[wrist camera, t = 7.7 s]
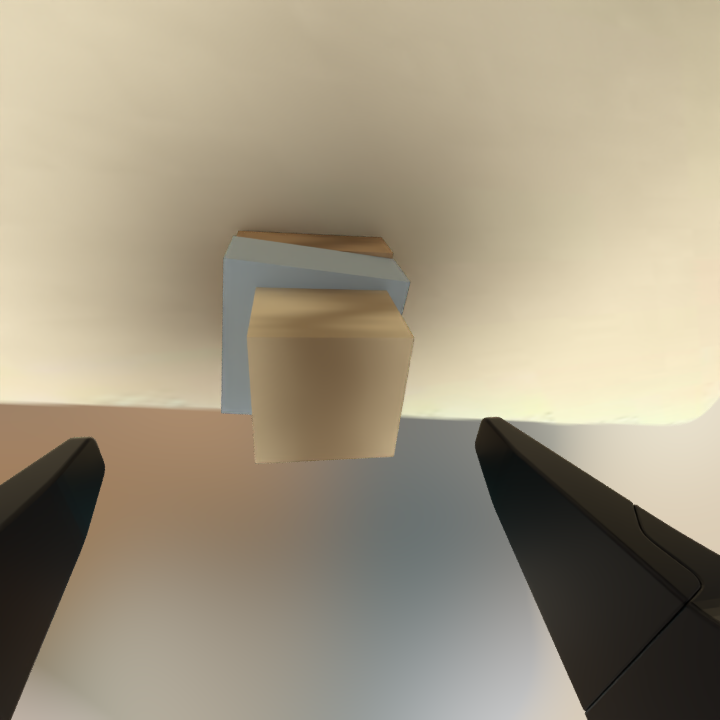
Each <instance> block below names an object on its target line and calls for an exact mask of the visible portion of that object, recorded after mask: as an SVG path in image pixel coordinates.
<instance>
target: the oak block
mask: <svg viewBox="0 0 720 720" xmlns="http://www.w3.org/2000/svg"><path fill="white" fill-rule="evenodd" d="M413 342H414V336H413V335H412V333H411V331H410V330H409V328H408V326H407V324H406V323H405V321H404V319H403V317H402V316H401V314H400V312H399V311H398V309H397V307H396V305H395V304H394V302H393V300H392V299H391V297H390V295H389V293H388V292H387V290H348V289H307V288H266V287H256V289H255V295H254V300H253V306H252V311H251V317H250V322H249V328H248V333H247V349H248V363H249V378H250V393H251V407H252V422H253V436H254V451H255V464H261V463H280V462H300V461H316V460H317V461H319V460H338V459H356V458H375V457H376V458H377V457H393V456H394V452H395V446H396V440H397V434H398V429H399V423H400V417H401V411H402V405H403V400H404V394H405V388H406V382H407V377H408V371H409V365H410V359H411V353H412V348H413Z"/></svg>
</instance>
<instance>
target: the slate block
mask: <svg viewBox="0 0 720 720" xmlns="http://www.w3.org/2000/svg"><path fill="white" fill-rule="evenodd" d="M409 286H410V281H409V280H408V278H407V277H406V275H405V274H404V273H403V271H402V270H401V269H400V267H399V266H398V264H397V263H396V262H395V260H394V259H391V258H384V257H377V256H370V255H363V254H356V253H349V252H342V251H336V250H329V249H322V248H315V247H308V246H301V245H294V244H287V243H280V242H273V241H266V240H259V239H252V238H245V237H238V236H233V238H232V240H231V242H230V244H229V247H228V249H227V251H226V253H225V256H224V258H223V327H222V397H221V413H228V414H249V415H252V407H251V393H250V378H249V363H248V349H247V333H248V328H249V322H250V317H251V311H252V306H253V300H254V295H255V289H256V287H266V288H307V289H348V290H387V292H388V293H389V295H390V297H391V299H392V300H393V302H394V304H395V305H396V307H397V309H398V311H399V312H400V314H401V316H402V313H403V309H404V305H405V301H406V297H407V293H408V290H409Z"/></svg>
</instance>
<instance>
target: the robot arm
mask: <svg viewBox="0 0 720 720" xmlns="http://www.w3.org/2000/svg"><path fill="white" fill-rule="evenodd" d="M475 449H476V453H477V456H478V459H479V463H480V466H481V469H482V472H483V475H484V478H485V481H486V485H487V488H488V491H489V494H490V497H491V500H492V503H493V505H494V508H495V510H496V513H497V515H498V517H499V520H500V522H501V524H502V526H503V529H504V531H505V533H506V535H507V538H508V540H509V542H510V545H511V547H512V549H513V551H514V554H515V556H516V558H517V560H518V562H519V565H520V567H521V569H522V572H523V574H524V576H525V579H526V581H527V583H528V585H529V587H530V590H531V592H532V594H533V597H534V599H535V601H536V603H537V606H538V608H539V610H540V612H541V615H542V617H543V619H544V621H545V624H546V625H547V628H548V631H549V633H550V635H551V637H552V640H553V642H554V644H555V646H556V649H557V651H558V653H559V656H560V658H561V660H562V662H563V665H564V667H565V669H566V671H567V673H568V676H569V678H570V680H571V683H572V685H573V687H574V689H575V692H576V694H577V696H578V698H579V701H580V703H581V705H582V707H583V709H584V710H585V711H586V712H585V715H586V717H587V720H720V555H718V554H717V553H715V552H713V551H711V550H709V549H708V548H706V547H705V546H703V545H701V544H699V543H697V542H696V541H694V540H693V539H691V538H689V537H687V536H686V535H684V534H682V533H680V532H679V531H677V530H675V529H674V528H672V527H670V526H669V525H667V524H666V523H664V522H663V521H661V520H659V519H658V518H656V517H655V516H653V515H651V514H650V513H648V512H647V511H645V510H644V509H642V508H640V507H639V506H638V505H633V503H632V502H631V501H630V500H628V499H626V498H625V497H623V496H622V495H620V494H618V493H617V492H615V491H614V490H612V489H611V488H609V487H608V486H606V485H605V484H603V483H601V482H600V481H598V480H597V479H595V478H593V477H592V476H591V475H589V474H587V473H586V472H584V471H582V470H581V469H580V468H578V467H577V466H575V465H573V464H572V463H570V462H569V461H567V460H565V459H564V458H563V457H561V456H559V455H558V454H556V453H555V452H553V451H552V450H550V449H549V448H547V447H545V446H544V445H542V444H541V443H539V442H538V441H536V440H534V439H533V438H531V437H530V436H528V435H527V434H525V433H523V432H522V431H520V430H519V429H517V428H516V427H514V426H513V425H511V424H510V423H508V422H506V421H505V420H503V419H502V418H500V417H486V418H484V419H483V420H482V421H481V424H480V427H479V431H478V434H477V438H476V441H475ZM104 473H105V464H104V461H103V458H102V456H101V453H100V450H99V448H98V445H97V443H96V441H95V439H94V438H92V437H76V438H75V437H74V438H70V439H69V440H67V441H65V442H64V443H62V444H61V445H59V446H58V447H57V448H55V449H53V450H52V451H51V452H49V453H47V454H46V455H44V456H43V457H42V458H40V459H39V460H37V461H36V462H34V463H33V464H31V465H30V466H28V467H27V468H25V469H24V470H22V471H21V472H19V473H18V474H16V475H15V476H13V477H12V478H10V479H9V480H7V481H6V482H4V483H3V484H1V485H0V720H11V718H12V716H13V713H14V711H15V709H16V706H17V704H18V701H19V699H20V697H21V694H22V692H23V689H24V687H25V684H26V682H27V680H28V677H29V675H30V672H31V670H32V668H33V665H34V662H35V660H36V658H37V656H38V653H39V651H40V648H41V646H42V643H43V641H44V639H45V636H46V634H47V631H48V629H49V627H50V624H51V621H52V619H53V617H54V615H55V612H56V610H57V607H58V605H59V602H60V600H61V598H62V595H63V593H64V591H65V588H66V586H67V583H68V581H69V578H70V576H71V574H72V571H73V569H74V566H75V564H76V562H77V559H78V557H79V554H80V552H81V549H82V547H83V544H84V542H85V539H86V536H87V533H88V529H89V526H90V523H91V519H92V516H93V512H94V509H95V505H96V502H97V498H98V495H99V491H100V487H101V484H102V481H103V477H104Z"/></svg>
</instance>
